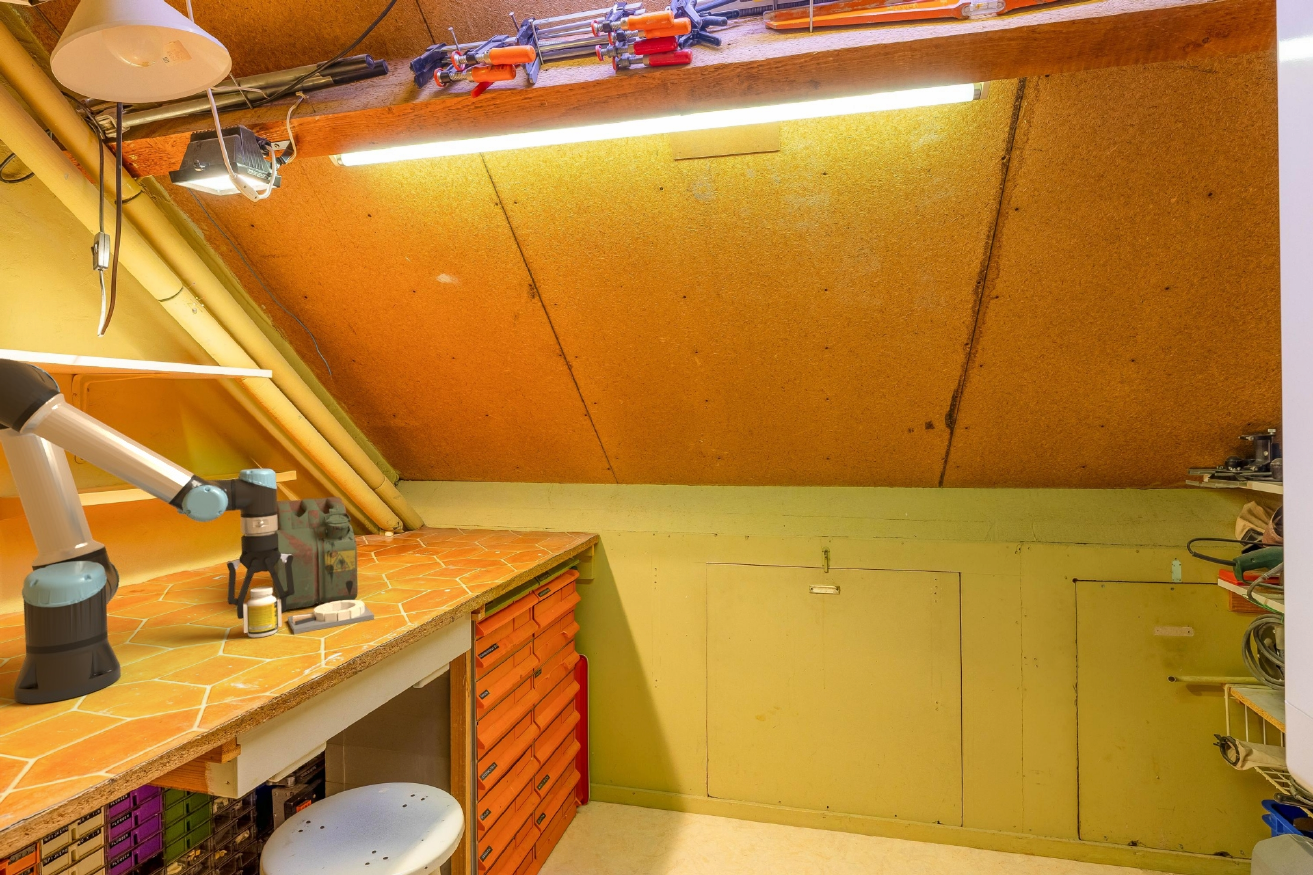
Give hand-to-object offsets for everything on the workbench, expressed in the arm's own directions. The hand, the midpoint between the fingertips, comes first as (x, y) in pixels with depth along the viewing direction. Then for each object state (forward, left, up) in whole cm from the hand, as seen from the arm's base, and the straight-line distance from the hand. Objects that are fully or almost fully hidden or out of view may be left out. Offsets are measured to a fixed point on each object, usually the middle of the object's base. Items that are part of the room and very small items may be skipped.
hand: (262, 627), depth 152 cm
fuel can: (+15, +31, -2) cm, 35 cm away
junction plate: (+15, +1, -1) cm, 15 cm away
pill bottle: (0, 0, -2) cm, 2 cm away
